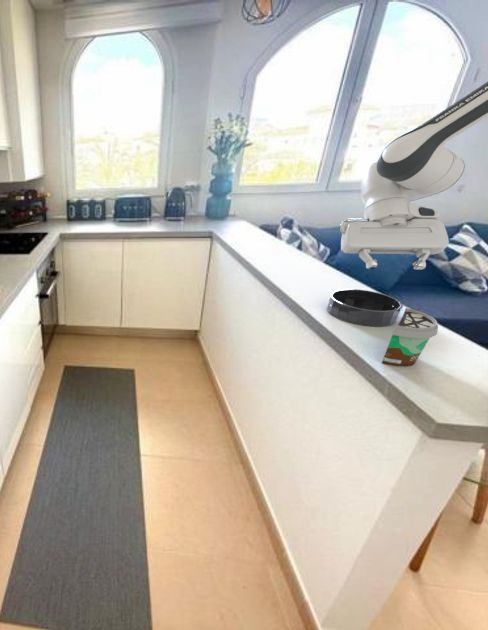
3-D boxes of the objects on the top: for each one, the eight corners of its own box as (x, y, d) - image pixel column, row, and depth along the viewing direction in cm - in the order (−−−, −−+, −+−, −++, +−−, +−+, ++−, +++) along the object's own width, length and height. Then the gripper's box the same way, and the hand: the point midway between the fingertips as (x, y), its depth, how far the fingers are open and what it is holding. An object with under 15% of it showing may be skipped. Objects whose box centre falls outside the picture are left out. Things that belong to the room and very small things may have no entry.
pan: (379, 304, 102) (384, 290, 100) (409, 328, 89) (416, 313, 87) (318, 301, 106) (322, 288, 104) (339, 324, 93) (343, 309, 91)
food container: (418, 377, 72) (437, 335, 67) (380, 365, 76) (395, 326, 72) (426, 353, 79) (444, 314, 74) (391, 344, 83) (406, 307, 79)
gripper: (345, 211, 86) (351, 261, 82) (448, 210, 80) (459, 262, 76) (333, 226, 92) (338, 272, 88) (428, 225, 86) (438, 275, 82)
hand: (395, 268), depth 82 cm, fingers open, 8 cm apart
